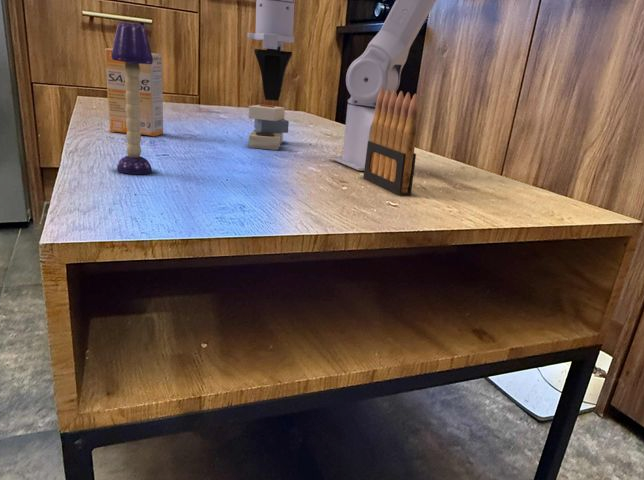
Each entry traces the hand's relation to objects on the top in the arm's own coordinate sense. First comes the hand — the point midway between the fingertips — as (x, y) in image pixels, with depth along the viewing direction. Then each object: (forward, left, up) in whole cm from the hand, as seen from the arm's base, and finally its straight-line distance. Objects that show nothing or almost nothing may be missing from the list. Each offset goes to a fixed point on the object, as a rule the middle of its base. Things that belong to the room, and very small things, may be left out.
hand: (271, 100), depth 95 cm
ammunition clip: (-26, -7, -8) cm, 28 cm away
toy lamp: (-16, +24, -8) cm, 30 cm away
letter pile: (+11, -4, -8) cm, 14 cm away
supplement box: (+18, +18, -8) cm, 27 cm away
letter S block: (+5, -1, -8) cm, 10 cm away
